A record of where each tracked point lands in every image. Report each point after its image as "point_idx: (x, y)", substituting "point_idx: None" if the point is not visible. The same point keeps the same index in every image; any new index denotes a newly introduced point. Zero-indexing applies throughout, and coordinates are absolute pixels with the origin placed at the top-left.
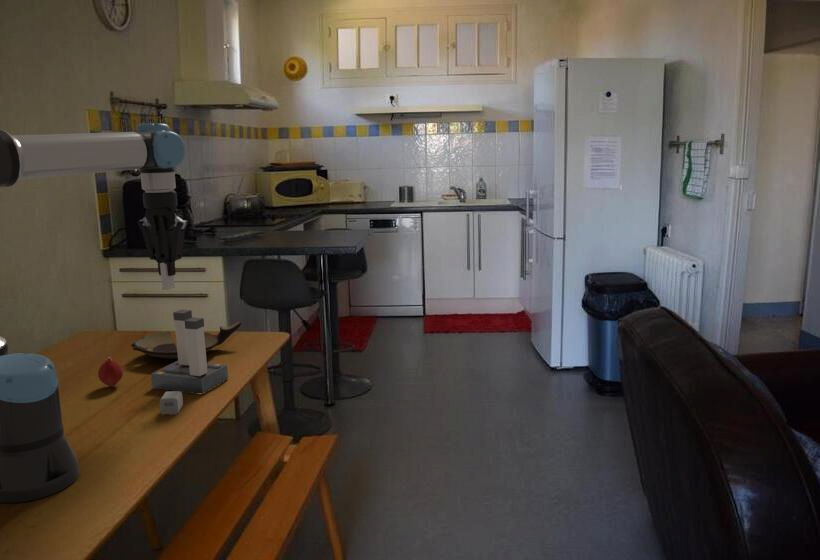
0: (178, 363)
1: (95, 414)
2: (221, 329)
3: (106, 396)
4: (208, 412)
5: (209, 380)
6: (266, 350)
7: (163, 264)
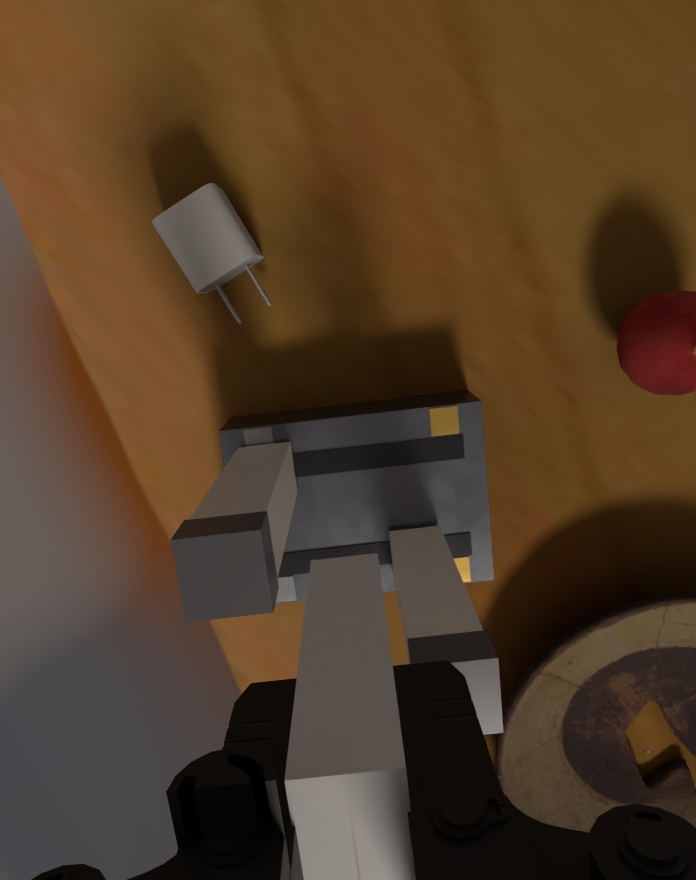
0: (440, 527)
1: (474, 82)
2: None
3: (583, 249)
4: (76, 287)
5: None
6: None
7: (320, 759)
